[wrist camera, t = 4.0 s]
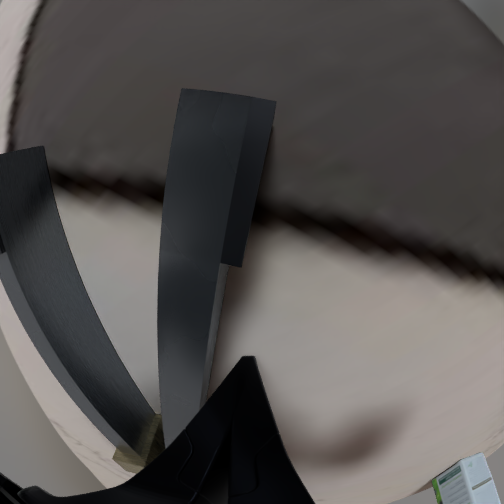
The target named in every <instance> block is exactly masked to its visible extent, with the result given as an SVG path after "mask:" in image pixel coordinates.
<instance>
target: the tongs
mask: <svg viewBox="0 0 504 504" xmlns="http://www.w3.org/2000/svg"><path fill="white" fill-rule="evenodd" d="M0 279H1V281H2V284H3V286H4V288H5V291H6V293H7V295H8V297H9V299H10V301H11V304H12V306H13V308H14V310H15V312H16V314H17V315H18V317H19V319H20V321H21V323H22V325H23V327H24V329H25V330H26V332H27V334H28V336H29V337H30V339H31V341H32V342H33V344H34V346H35V347H36V349H37V351H38V352H39V354H40V355H41V357H42V358H43V360H44V361H45V363H46V364H47V366H48V367H49V369H50V370H51V372H52V373H53V375H54V376H55V377H56V379H57V380H58V382H59V383H60V384H61V386H62V387H63V388H64V390H65V391H66V392H67V393H68V395H69V396H70V397H71V398H72V400H73V401H74V402H75V403H76V405H77V406H78V407H79V408H80V409H81V411H82V412H83V413H84V414H85V415H86V416H87V417H88V419H89V420H90V421H91V422H92V423H93V424H94V425H95V426H96V427H97V428H98V429H99V431H100V432H101V433H102V434H103V435H104V436H105V437H106V438H107V439H108V440H109V441H110V442H111V443H112V444H113V445H114V446H115V447H116V451H115V453H114V456H113V458H112V459H113V460H114V461H115V462H116V463H117V464H119V465H120V466H121V467H122V468H123V469H125V470H126V471H128V472H132V473H136V474H137V473H138V472H140V471H141V470H142V469H143V468H144V467H146V466H147V465H148V464H149V463H150V462H152V461H153V460H154V459H155V458H156V457H157V456H158V455H159V454H161V453H162V452H163V451H164V450H165V441H164V432H163V423H162V415H158V414H155V413H154V412H153V410H152V409H151V407H150V406H149V405H148V403H147V402H146V400H145V399H144V397H143V396H142V394H141V393H140V391H139V390H138V388H137V386H136V385H135V383H134V382H133V380H132V379H131V377H130V375H129V374H128V372H127V370H126V369H125V367H124V365H123V364H122V362H121V360H120V358H119V357H118V355H117V353H116V351H115V350H114V348H113V346H112V344H111V342H110V340H109V338H108V337H107V335H106V333H105V331H104V329H103V327H102V325H101V323H100V321H99V319H98V317H97V315H96V312H95V310H94V308H93V306H92V304H91V302H90V299H89V297H88V295H87V292H86V290H85V288H84V285H83V283H82V281H81V278H80V276H79V273H78V271H77V268H76V265H75V263H74V260H73V257H72V255H71V252H70V249H69V246H68V243H67V240H66V237H65V234H64V231H63V228H62V224H61V221H60V218H59V214H58V211H57V207H56V203H55V199H54V196H53V191H52V187H51V183H50V179H49V174H48V169H47V164H46V159H45V153H44V147H43V146H38V147H32V148H27V149H22V150H17V151H12V152H8V153H3V154H0Z"/></svg>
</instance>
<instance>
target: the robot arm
mask: <svg viewBox="0 0 504 504" xmlns="http://www.w3.org/2000/svg"><path fill="white" fill-rule="evenodd" d="M0 504H315V502H314V501H313V499H312V498H311V496H310V494H309V493H308V491H307V489H306V488H305V486H304V484H303V483H302V481H301V479H300V477H299V476H298V474H297V472H296V471H295V469H294V467H293V465H292V463H291V461H290V459H289V457H288V455H287V452H286V450H285V447H284V445H283V442H282V439H281V436H280V434H279V431H278V428H277V425H276V422H275V419H274V416H273V413H272V410H271V407H270V404H269V401H268V398H267V395H266V392H265V388H264V385H263V382H262V379H261V376H260V373H259V370H258V367H257V362H256V358H255V356H242V357H241V359H240V360H239V361H238V363H237V364H236V365H235V366H234V368H233V369H232V370H231V372H230V373H229V374H228V375H227V377H226V378H225V379H224V381H223V382H222V383H221V384H220V386H219V387H218V388H217V389H216V391H215V392H214V393H213V394H212V396H211V397H210V398H209V399H208V401H207V402H206V403H205V404H204V405H203V407H202V408H201V409H200V410H199V412H198V413H197V414H196V415H195V416H194V418H193V419H192V420H191V421H190V422H189V424H188V425H187V426H186V427H185V429H183V430H182V432H181V433H180V434H179V435H178V436H177V437H176V438H175V440H174V441H173V442H172V443H171V444H170V445H169V446H168V447H167V448H166V449H165V450H164V451H163V452H162V453H161V454H159V455H158V456H157V457H156V458H155V459H154V460H153V461H152V462H150V463H149V464H148V465H147V466H146V467H144V468H143V469H142V470H141V471H140V472H138V473H137V474H136V475H135V476H133V477H132V478H131V479H129V480H128V481H126V482H125V483H123V484H121V485H119V486H116V487H113V488H109V489H105V490H100V491H96V492H91V493H86V494H80V495H74V496H68V497H56V496H53V495H52V494H50V493H48V492H47V491H45V490H43V489H41V488H40V487H38V486H32V487H28V488H25V489H23V488H22V487H20V486H19V485H17V484H15V483H14V482H13V481H11V480H10V479H8V478H7V477H6V476H4V475H3V474H2V473H0Z"/></svg>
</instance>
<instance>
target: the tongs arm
mask: <svg viewBox="0 0 504 504" xmlns="http://www.w3.org/2000/svg"><path fill="white" fill-rule="evenodd" d="M275 108H276V101H271V100H266V99H261V98H255V97H250V96H244V95H237V94H230V93H223V92H215V91H206V90H196V89H184V88H182V89H181V94H180V99H179V104H178V109H177V114H176V119H175V125H174V131H173V137H172V143H171V149H170V156H169V163H168V170H167V178H166V186H165V194H164V204H163V214H162V225H161V238H160V253H159V272H158V310H157V330H158V368H159V386H160V401H161V413H162V423H163V432H164V441H165V449H166V448H167V447H168V446H169V445H170V444H171V443H172V442H173V441H174V440H175V438H176V437H177V436H178V435H179V434H180V433H181V432H182V430H183V429H185V427H186V426H187V425H188V424H189V422H190V421H191V420H192V419H193V418H194V416H195V415H196V414H197V413H198V412H199V410H200V409H201V408H202V407H203V405H204V404H205V403H206V400H207V393H208V387H209V380H210V374H211V368H212V362H213V356H214V350H215V344H216V338H217V332H218V326H219V320H220V314H221V308H222V303H223V297H224V291H225V286H226V280H227V275H228V269H229V265H232V266H236V267H242V262H243V258H244V253H245V249H246V245H247V240H248V236H249V231H250V227H251V222H252V218H253V213H254V208H255V203H256V199H257V194H258V189H259V185H260V180H261V175H262V171H263V166H264V161H265V157H266V152H267V147H268V143H269V138H270V133H271V129H272V124H273V119H274V114H275Z"/></svg>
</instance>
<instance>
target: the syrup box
mask: <svg viewBox="0 0 504 504" xmlns="http://www.w3.org/2000/svg"><path fill="white" fill-rule="evenodd" d="M432 484H433V488H434V491H435V495H436V499H437V503H438V504H501V503H500V500H499V497H498V493H497V490H496V487H495V484H494V481H493V478H492V475H491V472H490V470H489V467H488V465H487V462H486V459H485V457H484V454H483V453H482V452H481V453H478V454H475V455H472V456H469V457H467V458H464V459H461V460H460V461H458V462H457V463H456V464H455V465H453V466H452V467H451V468H449V469H448V470H446V471H445V472H443V473H442V474H440V475H439V476H437V477H436V478H434V479H433V480H432Z"/></svg>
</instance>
